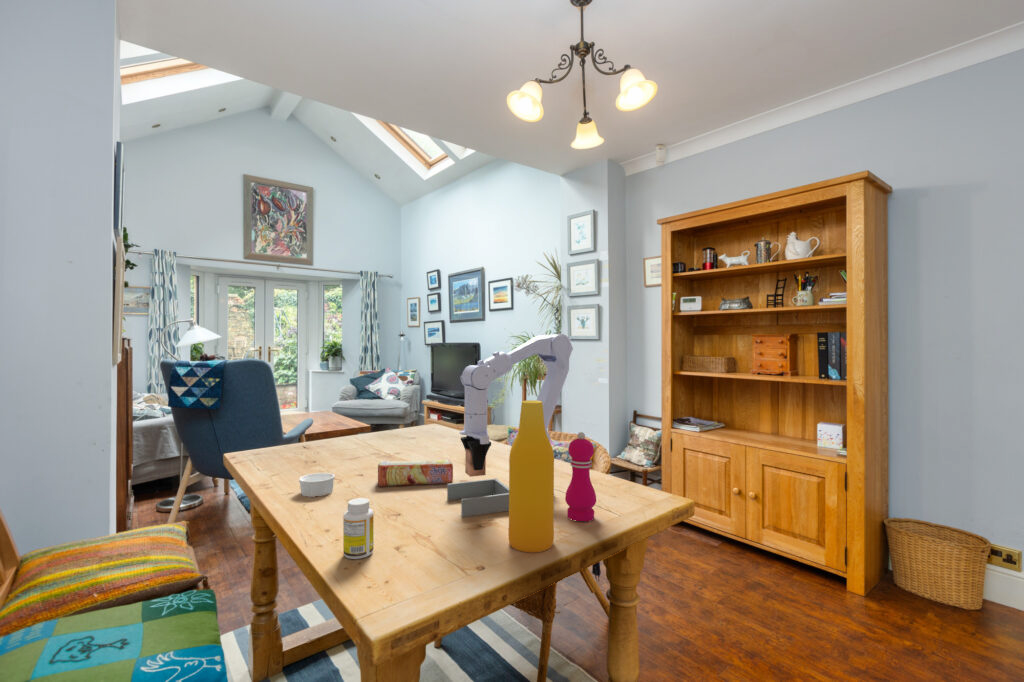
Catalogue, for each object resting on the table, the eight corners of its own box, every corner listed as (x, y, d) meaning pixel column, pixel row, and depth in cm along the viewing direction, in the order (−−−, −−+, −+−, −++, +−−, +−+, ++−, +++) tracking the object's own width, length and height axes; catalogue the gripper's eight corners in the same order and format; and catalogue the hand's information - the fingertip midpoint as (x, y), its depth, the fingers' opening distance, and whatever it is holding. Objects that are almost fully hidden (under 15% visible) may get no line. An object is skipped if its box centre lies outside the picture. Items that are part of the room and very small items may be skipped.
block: (480, 471, 124) (480, 447, 124) (485, 475, 120) (485, 451, 120) (465, 472, 122) (465, 448, 122) (470, 476, 118) (470, 452, 118)
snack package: (451, 478, 145) (451, 456, 145) (453, 485, 138) (453, 461, 138) (378, 482, 140) (378, 459, 140) (376, 489, 134) (376, 464, 134)
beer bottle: (540, 557, 92) (541, 405, 92) (499, 546, 97) (500, 402, 97) (561, 540, 100) (562, 400, 100) (523, 531, 105) (524, 397, 105)
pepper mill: (598, 513, 115) (599, 430, 115) (593, 524, 109) (594, 436, 108) (568, 510, 118) (569, 428, 118) (562, 520, 111) (562, 433, 111)
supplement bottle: (363, 545, 97) (363, 494, 97) (379, 553, 93) (379, 500, 93) (337, 554, 93) (337, 501, 93) (353, 563, 89) (353, 508, 89)
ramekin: (291, 495, 128) (291, 479, 128) (316, 486, 136) (316, 470, 136) (317, 500, 124) (317, 483, 124) (341, 490, 132) (341, 474, 132)
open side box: (496, 493, 130) (496, 478, 130) (515, 509, 118) (515, 493, 118) (447, 499, 125) (447, 483, 125) (462, 517, 113) (462, 499, 113)
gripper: (452, 409, 126) (452, 461, 126) (469, 418, 113) (468, 476, 113) (478, 408, 129) (477, 459, 129) (497, 416, 115) (496, 473, 115)
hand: (475, 467), depth 121 cm, fingers closed on block, 4 cm apart
